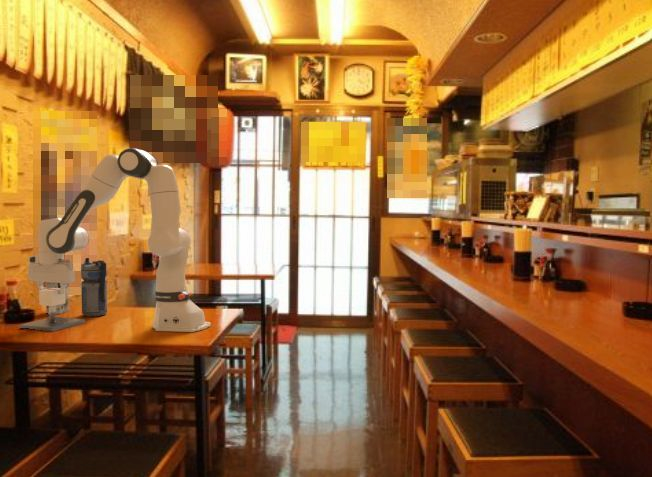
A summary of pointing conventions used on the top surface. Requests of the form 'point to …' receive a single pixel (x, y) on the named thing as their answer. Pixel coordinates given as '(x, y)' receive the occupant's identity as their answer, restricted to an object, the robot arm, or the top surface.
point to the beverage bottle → (94, 288)
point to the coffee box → (65, 307)
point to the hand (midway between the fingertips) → (51, 293)
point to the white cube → (51, 297)
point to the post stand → (52, 322)
